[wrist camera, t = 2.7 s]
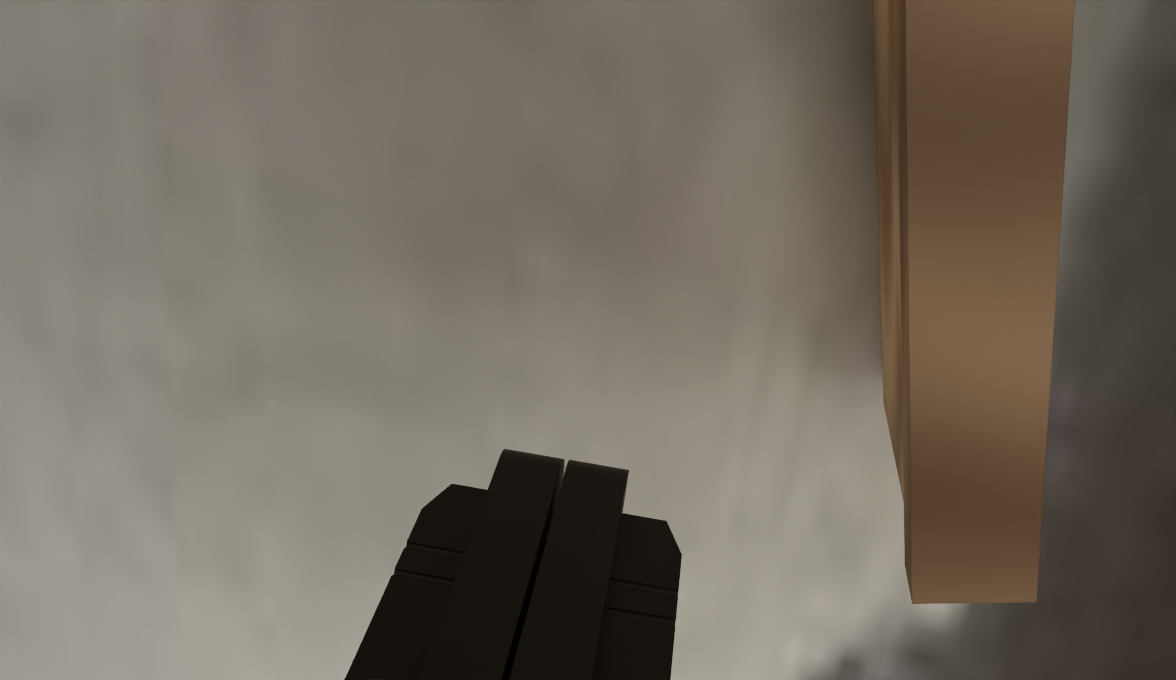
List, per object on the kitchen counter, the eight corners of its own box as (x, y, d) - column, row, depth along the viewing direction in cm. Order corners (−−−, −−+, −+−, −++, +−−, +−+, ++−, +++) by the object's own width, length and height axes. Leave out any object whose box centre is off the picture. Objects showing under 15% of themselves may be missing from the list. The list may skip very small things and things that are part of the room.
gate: (966, 398, 22) (1036, 602, 17) (874, 402, 23) (912, 604, 17) (983, -461, 15) (1114, -604, 10) (848, -431, 16) (899, -552, 10)
